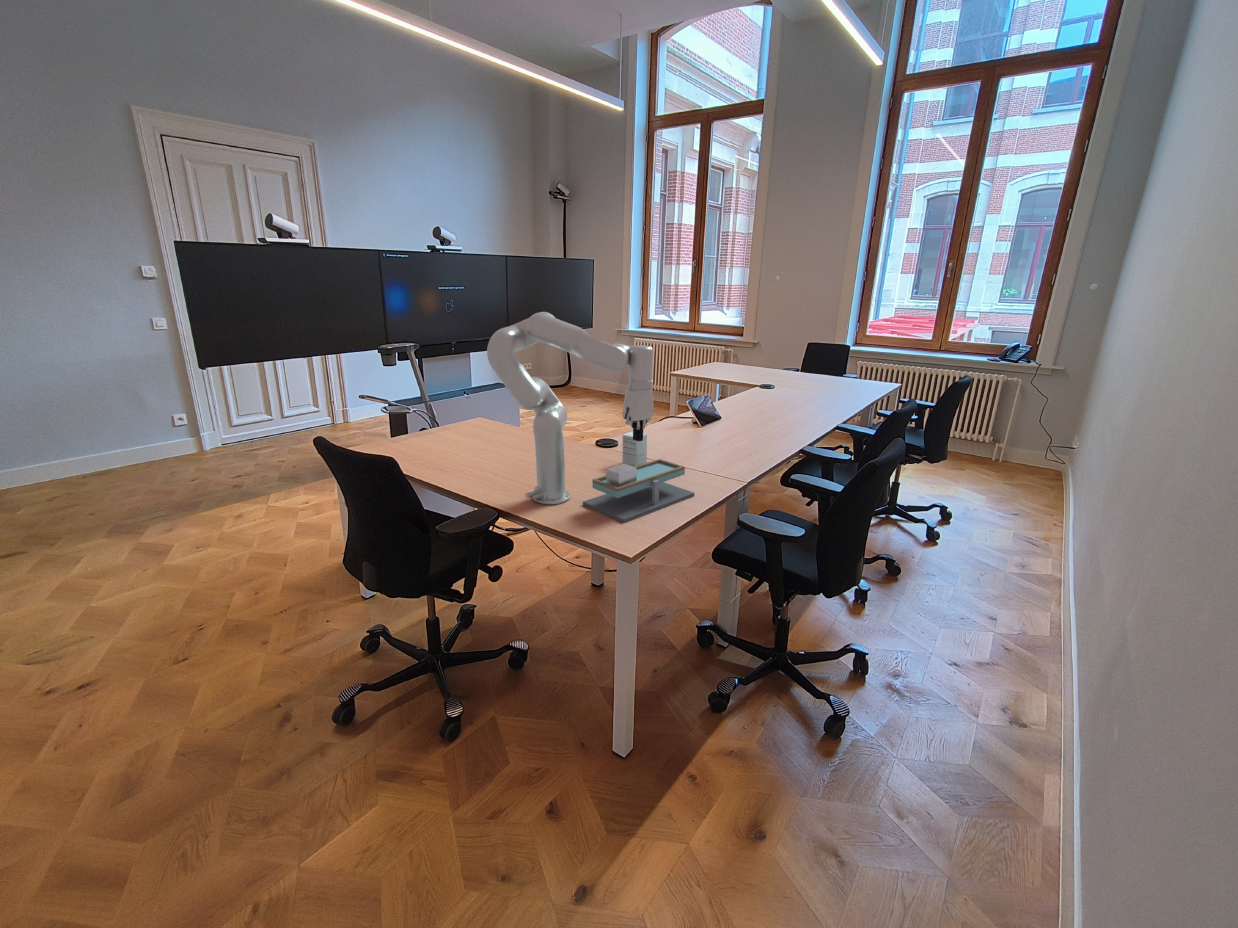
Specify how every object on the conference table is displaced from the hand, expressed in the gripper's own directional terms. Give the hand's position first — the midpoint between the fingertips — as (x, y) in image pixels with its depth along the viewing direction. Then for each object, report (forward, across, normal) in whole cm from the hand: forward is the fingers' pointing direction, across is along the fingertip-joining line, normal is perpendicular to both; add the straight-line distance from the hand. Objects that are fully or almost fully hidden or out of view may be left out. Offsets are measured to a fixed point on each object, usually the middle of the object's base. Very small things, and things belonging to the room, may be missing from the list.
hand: (637, 440), depth 185 cm
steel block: (+13, +8, +2) cm, 15 cm away
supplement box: (+22, -28, -29) cm, 46 cm away
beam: (+13, -1, +1) cm, 14 cm away
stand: (+22, -1, +1) cm, 22 cm away
